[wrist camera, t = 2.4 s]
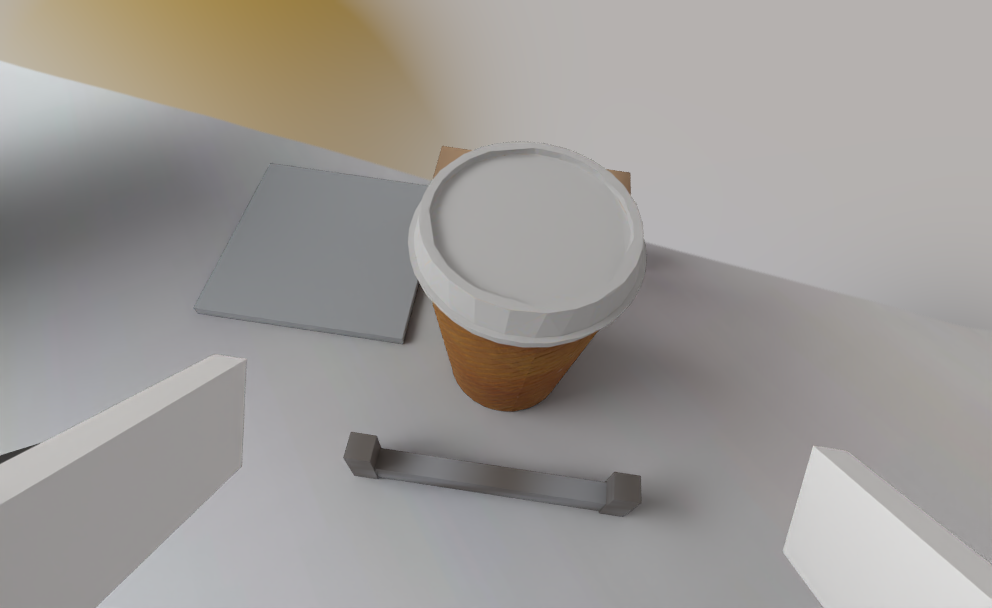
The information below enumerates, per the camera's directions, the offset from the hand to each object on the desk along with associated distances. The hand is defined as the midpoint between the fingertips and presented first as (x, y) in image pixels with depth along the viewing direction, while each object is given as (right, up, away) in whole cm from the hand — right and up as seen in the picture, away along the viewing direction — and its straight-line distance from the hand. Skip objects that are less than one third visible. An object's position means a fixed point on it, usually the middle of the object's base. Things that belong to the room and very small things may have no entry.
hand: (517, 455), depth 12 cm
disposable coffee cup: (0, 0, +18) cm, 18 cm away
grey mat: (-11, +7, +21) cm, 25 cm away
